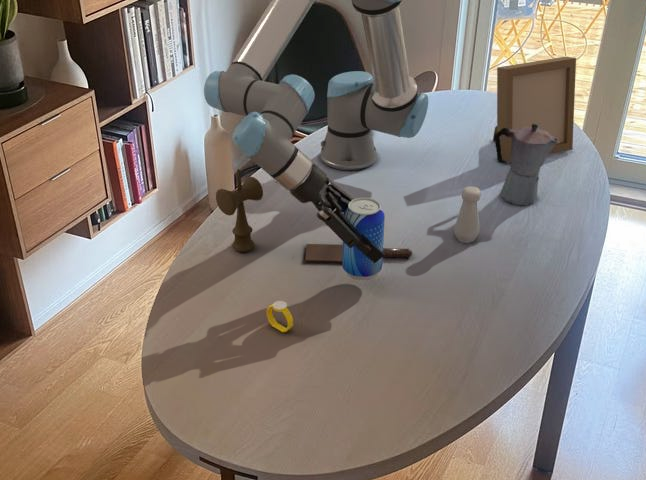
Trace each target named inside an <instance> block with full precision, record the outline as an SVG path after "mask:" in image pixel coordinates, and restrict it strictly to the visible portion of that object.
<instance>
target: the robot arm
mask: <svg viewBox="0 0 646 480" xmlns="http://www.w3.org/2000/svg"><path fill="white" fill-rule="evenodd" d="M320 1H321V0H271V1H270V3H269V4H268V6H267V7H266V9H265V10H264V11H263V13H262V15H261V17H260V18H259V20H258V21H257V23H256V24H255V26H254V27H253V29H252V31H251V32H250V34H249V35H248V37H247V38H246V40H245V42H244V43H243V45H242V47H241V48H240V50H239V51H238V53H237V55H236V56H235V57H234V59H233V61H232V63H231V64H230V65H229V67H228V68H227V69H226V71H224V70H215V71H213V72H211V73H209V74H208V76H207V78H206V79H205V82H204V86H203V97H204V100H205V101H206V103H207V104H208V106H209V107H211V108H213V109H216V110H219V111H221V112H224V113H229V114H235V115H239V116H244V117H243V119H241V121H240V123H238V124H237V126H236V127H235V129H234V130H233V133H232V137H231V138H232V139H231V140H232V142H233V143H234V145H235V146H236V147H237V149H239V150H240V151H241V152H242V153H243V154H244V155H245V156H246V158H249V159H250V160H251V161H253V163H255V165H257V166H258V167H260V168H261V170H262V171H264V172H265V173H266V174H268V175H269V176H270V177H271V178H272V179H273V181H274V183H276V184H279V185H280V186H282V187H283V188H284V189H285V190H286V191H289V194H290V195H292V197H294V199H296V200H297V201H298V202H300V203H301V204H307V203H312V204H313V206H314V207H315V208H316V209H317V211H318V212H317V213H316V217H317V218H318V219H319V220H320V221H322V223H324V224H325V225H326V226H327V227H328V228H329V229H330V230H331V231H332V232H333V233H334V234H335V235H336V236H337V237H338V238H339V239H340V240H341V241H342V243H343V242H344V243H345V244H346V245H347V246H348V247H349V248H352V247H353V246H356V247H357V248H358V249H359V250H360V251H361V252H363V253H364V254H365V255H366V256H367V257H368V258H370V259H371V260H372V261H373V262H374V263H376V262H377V261H378V260H380V259H381V258H382V259H383V258H384V257H383V256H385V254H384V253H383V252H382V251H381V250H380V249H379V248H378V247H377V246H376V245H374V244H373V243H372V242H371V241H370V240H369V239H368V238H366V237H365V236H364V235H363V234H362V235H360V234H359V232H358V231H357V230H356V229H355V228H354V226H353V225H352V224H351V223H350V222H349V220H348V219H347V218H346V217H345V215H344V212H345V210H346V209H347V208H348V204H349V202H350V201H352V200H354V199H355V198H354V197H352V196H351V195H350V194H348V193H347V192H346V191H345V190H343V189H342V188H341V187H339V186H338V185H336V184H335V183H334V182H333V181H332V180H331V179H330V178H329V177H328V176H327V173H325V172H324V171H323V169H321V168H320V167H319V166H318V165H317V164H315V163H313V161H312V159H310V158H309V157H308V156H307V155H306V154H305V153H303V151H301V150H300V149H299V148H298V147H297V146H296V145H294V144H293V142H291V139H292V138H293V136H294V135H295V133H296V132H297V131H298V128H299V127H300V125H301V123H302V122H303V120H305V117H306V116H307V115H308V113H309V110H310V108H311V106H312V105H313V103H314V101H315V96H316V95H315V90H314V88H313V86H312V85H311V83H310V82H309V81H308V80H307V79H305V78H304V77H302V76H300V75H297V74H288V75H285V76H284V77H283V78H282V79H281V80H280V82H279V83H274V82H270V81H266V80H267V78H268V77H269V75H270V73H271V72H272V71H273V69H274V67H275V66H276V63H277V62H278V61H279V59H280V58H281V55H282V54H283V53H284V51H285V49H286V48H287V46H288V45H289V43H290V41H291V40H292V38H293V36H294V34H295V33H296V31H297V30H298V29H299V27H300V25H301V23H302V22H303V20H304V19H305V18H306V15H307V14H308V12H309V11H310V9H311V7H312V5H313V4H315V3H318V2H320ZM403 1H404V0H351V5H352V7H353V9H354V10H355V11H356V12H357V13H358V14H360V15H361V21H362V25H363V30H364V34H365V41H366V46H367V51H368V56H369V60H370V61H369V62H370V65H371V71H372V74H371V73H370V72H368V71H361V70H355V71H353V70H352V71H347V72H342V73H339V74H336V75H334V76H333V77H331V79H330V80H329V81H328V85H327V94H326V97H327V132H326V134H325V137H324V140H322V141H320V148H321V149H320V160H321V162H322V163H323V164H324V165H326V166H328V167H330V168H332V169H334V170H338V171H339V170H340V171H358V170H364V169H367V168H369V167H371V166H373V165H374V164H375V163H376V162H377V150H376V146H375V143H374V139H373V134H372V131H375V132H379V133H383V134H385V135H386V134H387V135H390V136H395V137H398V138H406V139H412V138H414V137H416V136H417V135H418V134H419V132H420V130H421V129H422V127H423V124H424V122H425V119H426V116H427V113H428V109H429V97H428V95H427V94H426V93H424V92H422V91H421V92H419V91H418V85H417V82H416V80H415V79H414V78H413V77H412V76H410V72H409V64H408V58H407V50H406V45H405V37H404V31H403V24H402V18H401V11H400V6H401V4H402V3H403Z"/></svg>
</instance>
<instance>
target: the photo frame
mask: <svg viewBox="0 0 646 480" xmlns="http://www.w3.org/2000/svg"><path fill="white" fill-rule="evenodd" d="M576 69H577V57H573V56H561V57H554V58H548V59H542V60H536V61H535V60H534V61H529V62H523V63H517V64H511V65H505V66H504V65H503V66H498V67H496V76H497V77H496V85H497V86H496V96H497V97H496V126H494V132H493V137H492V142H495V141H494V135H495V134H496V133H498V131H500V130H501V129H503V128H507V129H514V130H517V129H518V128H520V127H532V124H536V125H538V128H539V129H542V130H544V131H547V132H548V133H549V134H550V136H553V137H555V138H556V139H558V141H559V143H557V144H556V145H555V146H554V147H553V149H552V150H551V151H550V152H549V154H548V155H552V154H558V153H562V152H563V153H564V152H567V151H572V150H573V148H574V147H573V145H574V123H575V122H574V121H575V120H574V119H575V95H576ZM499 139H500V146H501V155H502V159H503V160H507V161H508V162H507V164H510V162H511V159H510V158H511V146H512V138H509V137H507V136H505V135H501V136H500V137H499ZM548 155H547V156H548ZM496 161H498V158H497V157H496Z"/></svg>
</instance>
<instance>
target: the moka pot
mask: <svg viewBox="0 0 646 480" xmlns="http://www.w3.org/2000/svg"><path fill="white" fill-rule="evenodd" d="M501 135H505V136H507V137H509V138H512V146H511V158H510V159H511V162H510V163H509V164H510V167H509V168H508V171H507V175H506V177H505V180H504V182H503V185H502V188H501V191H500V196H501V198H502V199H504V201H506V202H507V203H510V204H512V205H516V206H517V205H518V206H529V205H532V204H533V203H535V201H536V200H537V195H538V187H539V186H538V185H539V180H540V177H539V176H540V170H541V168H542V166H544V163H545V161H546V158H547V156H548V154H549V152H550V151H551V150H552V149H553V147H554V146H555V145H556V144H557V143H559V141H558V139H556V138H555V137H553V136H550V134H549V133H548V132H547V131H544V130H542V129H539V128H538V125H536V124H532V127H520V128H518V129H517V130H514V129H507V128H503V129H501V130H500V131H498V133H496V134H495V135H494V134H493V136H494V141H493V142H494V145H495V146H494V147H495V151H496V159H497V158H498V160H497V162H498V163H500V164H502V165H507V164H508V163H507V162H508V161H507V160H503V159H502V155H501V146H500V139H499V137H500V136H501ZM549 155H550V154H549Z"/></svg>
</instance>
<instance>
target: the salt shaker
mask: <svg viewBox="0 0 646 480" xmlns="http://www.w3.org/2000/svg"><path fill="white" fill-rule="evenodd" d="M481 196H482V192H481V190H480V189H479V188H478V187H476V186H466V187H464V188H463V189H462V191H461V199H462V202H461V206H460V208H459V212H458V215H457V218H456V221H455V224H454V228H453V231H454V234H455V237H456V239H457V240H458V242H460V243H463V244H464V243H465V244H470V243H473V242H475V240H476V239H477V237H478V236H479V233H480V221H479V208H478V202H479V201H480V200H481Z"/></svg>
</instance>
